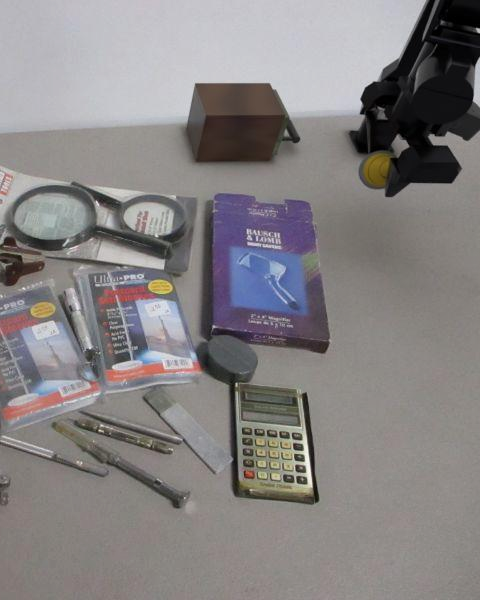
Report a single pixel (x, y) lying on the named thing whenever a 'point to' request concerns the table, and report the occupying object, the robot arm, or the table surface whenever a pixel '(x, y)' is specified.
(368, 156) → the yellow tiered knob
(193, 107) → the cabinet
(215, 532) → the table surface
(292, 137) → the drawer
